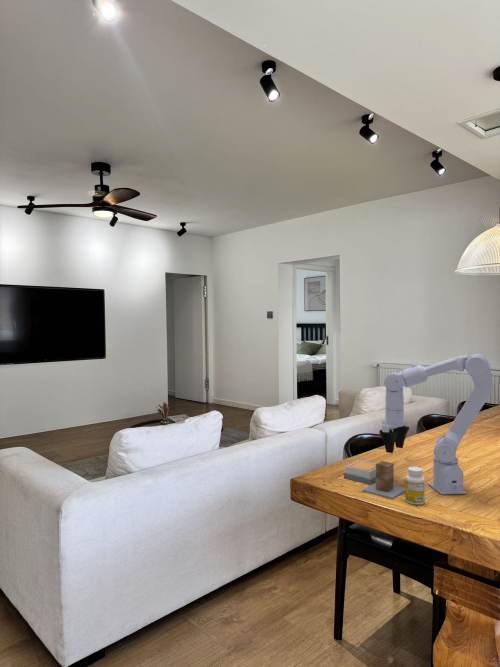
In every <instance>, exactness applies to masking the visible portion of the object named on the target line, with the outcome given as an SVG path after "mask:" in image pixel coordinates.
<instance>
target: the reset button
mask: <svg viewBox="0 0 500 667" xmlns="http://www.w3.org/2000/svg"><path fill="white" fill-rule="evenodd" d="M361 461H362V460H360V462H358V463H356V464H353V465H351V466H350V467H355V468H359V469H363V470H368V471H370V470H372V469H374V468H376V465H374V464H375V463H374V464H370V463H371V462H370V463H365V462H366V461H365V462H361Z"/></svg>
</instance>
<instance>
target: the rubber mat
mask: <svg viewBox="0 0 500 667" xmlns="http://www.w3.org/2000/svg"><path fill="white" fill-rule="evenodd" d="M362 492H364V493H368V494H372V495H376V496H379V497H383V498H386V499H390V500H394V499H396V498H397V497H399V496H401V495H402V494H403V493H406V487H402V486H397V485H394V489H392V490H391V491H389V492H385V491H381V490H377V489H376V482H375V483H373V484H371V485H370V484H369V486H366V487H365V488H363V489H362Z"/></svg>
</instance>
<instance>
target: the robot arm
mask: <svg viewBox="0 0 500 667" xmlns="http://www.w3.org/2000/svg"><path fill="white" fill-rule="evenodd" d="M464 370H465V371H466V372H467V374H468V376H470V377H471V378H472V382H473V384H474V388H473V390H472V391H471V393H470V394H469V396H468V397H467V399H466V401H465V403H464V404H463V406H462V407H461V409H460V411H459V412H458V413H457V415H456V417H455V419H454V420H453V422H452V423H451V425H450V426H449V428H448V429H447V431H446V432H445V434H444V435H443V436H442V435H441V437H438V439H437V440H436V443H435V445H434V448H433V455H434V456H433V462H432V464H433V465H432V466H433V468H432V470H433V471H432V472H433V476H432V479H433V480H432V482H428V483H427V484H428V485H429V486H430V487H431V488H433V489H434V490H435V491H437V492H438V493H439V494H440V495H464V494H465V495H466V494H467V491H465V489H464V471H463V470H462V469H461V468H460V466H459V459H458V458H457V456H456V455H457V449H458V447H459V445H460V443H461V441H462V440H463V439H464V436H465V434H466V433H467V431H468V430H469V428H470V427H471V425H472V424H473V422H474V421H475V419H476V417H477V416H478V415H479V412H480V411H481V410H482V408H483V407H484V405H485V403H486V402H487V400H488V399H489V397H490V396H491V394H492V392H493V390H494V384H493V376H492V374H493V373H492V369H491V365H490V363H489V361H488V359H487V358H486V355H483V354H482V353H477V352H475V353H471V354H469V355H468V354H465V355H459V356H455V357H452V358H449V359H446V360H445V359H444V360H443V361H440V362H437V363H433V364H431V365H429V366H423V365H421V364H418V365H417V364H416V363H415V364H412V365H411V367H407V368H405V369H397V371H396V372H391V373H389V374H388V375H387V376H386V377H385V378H384V382H383V384H384V387H385V420H383V421H382V424H383V425H382V426H381V429H380V430H379V435H380V437H381V438H382V441H383V444H384V448H385V453H387V454H388V453H389V454H393V453H394V450H395V448H398V449H403V448H404V445H405V440H406V437H407V435H408V432H409V430H410V426H408V425H407V419H405V418H404V417H405V416H404V415H405V413H404V410H405V409H404V408H405V407H404V405H405V404H404V402H405V401H404V399H405V398H404V397H405V396H404V388H409V387H413V386H416V385H419V384H423V383H426V382H427V381H428V378H429V377H431V376H436V375H439V374H442V373H447V372H450V371H458V372H461V373H462V372H465V371H464Z"/></svg>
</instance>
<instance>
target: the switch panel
mask: <svg viewBox="0 0 500 667" xmlns="http://www.w3.org/2000/svg"><path fill="white" fill-rule="evenodd" d="M360 461H361V462H365V463H370V464H374V465H376V463H373V462H370V461H369V462H368V461H364V460H361V459H360V460H357V461H354V462H352V463H350V464H347V465H346V466H345V472H344V473H343V478H344V479H347V480H350V481H351V480H352V481H355V482H359V483H363V484H367V485H369V486H370V485H372V484H374V483H376V468H374V469H372V470H370V471H368V470H363V469H359V468H355V467H350V466H351V465H353V464H356V463H358V462H360Z"/></svg>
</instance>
